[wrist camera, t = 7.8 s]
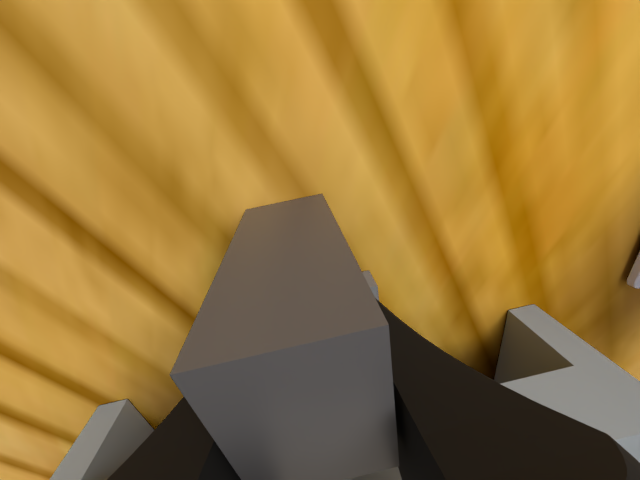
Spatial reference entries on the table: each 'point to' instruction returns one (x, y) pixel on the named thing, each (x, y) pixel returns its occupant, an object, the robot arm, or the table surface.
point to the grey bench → (512, 372)
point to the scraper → (292, 352)
